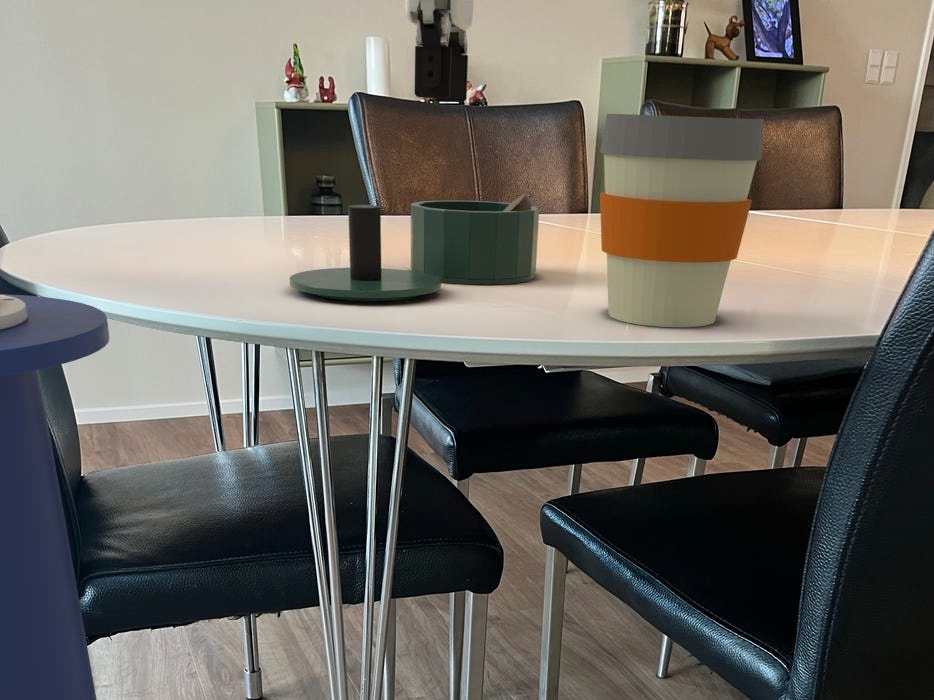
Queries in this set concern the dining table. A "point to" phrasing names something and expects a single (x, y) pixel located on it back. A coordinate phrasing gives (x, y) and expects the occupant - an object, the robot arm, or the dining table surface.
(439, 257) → the tin
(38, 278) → the dining table surface
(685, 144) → the reusable coffee cup
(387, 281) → the lid
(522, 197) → the wooden bar and disc
